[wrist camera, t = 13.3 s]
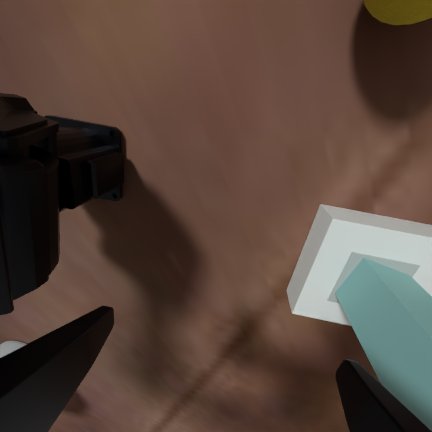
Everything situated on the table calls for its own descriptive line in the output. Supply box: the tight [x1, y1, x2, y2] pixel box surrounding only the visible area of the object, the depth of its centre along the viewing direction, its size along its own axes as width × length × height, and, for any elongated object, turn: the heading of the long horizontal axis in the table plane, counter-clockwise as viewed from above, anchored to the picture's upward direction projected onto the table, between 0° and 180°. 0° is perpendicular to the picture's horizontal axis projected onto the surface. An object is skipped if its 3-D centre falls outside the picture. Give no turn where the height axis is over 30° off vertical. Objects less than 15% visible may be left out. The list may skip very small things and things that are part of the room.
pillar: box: [335, 258, 432, 431], centre depth 13 cm, size 4×4×12 cm
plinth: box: [287, 204, 432, 326], centre depth 20 cm, size 10×10×3 cm
